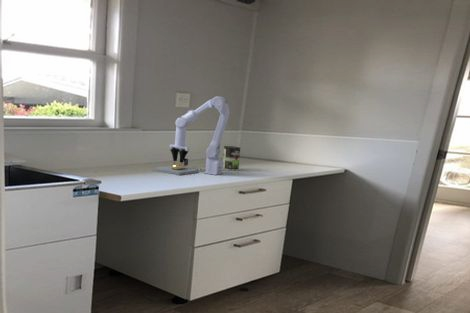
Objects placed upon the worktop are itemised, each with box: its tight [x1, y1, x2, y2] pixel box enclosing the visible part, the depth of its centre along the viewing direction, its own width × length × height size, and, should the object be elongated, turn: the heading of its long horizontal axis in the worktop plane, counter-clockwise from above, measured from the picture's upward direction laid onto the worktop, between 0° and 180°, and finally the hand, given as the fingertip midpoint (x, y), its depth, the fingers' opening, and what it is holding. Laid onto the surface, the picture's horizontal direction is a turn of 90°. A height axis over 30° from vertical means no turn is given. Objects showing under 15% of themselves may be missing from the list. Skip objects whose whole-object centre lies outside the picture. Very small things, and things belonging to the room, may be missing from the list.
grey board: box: [152, 165, 199, 176], centre depth 261 cm, size 19×18×2 cm
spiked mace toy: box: [171, 157, 189, 170], centre depth 263 cm, size 12×6×5 cm, turn 150°
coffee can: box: [222, 145, 241, 172], centre depth 286 cm, size 10×10×14 cm
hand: (178, 161), depth 268 cm, fingers open, 5 cm apart
